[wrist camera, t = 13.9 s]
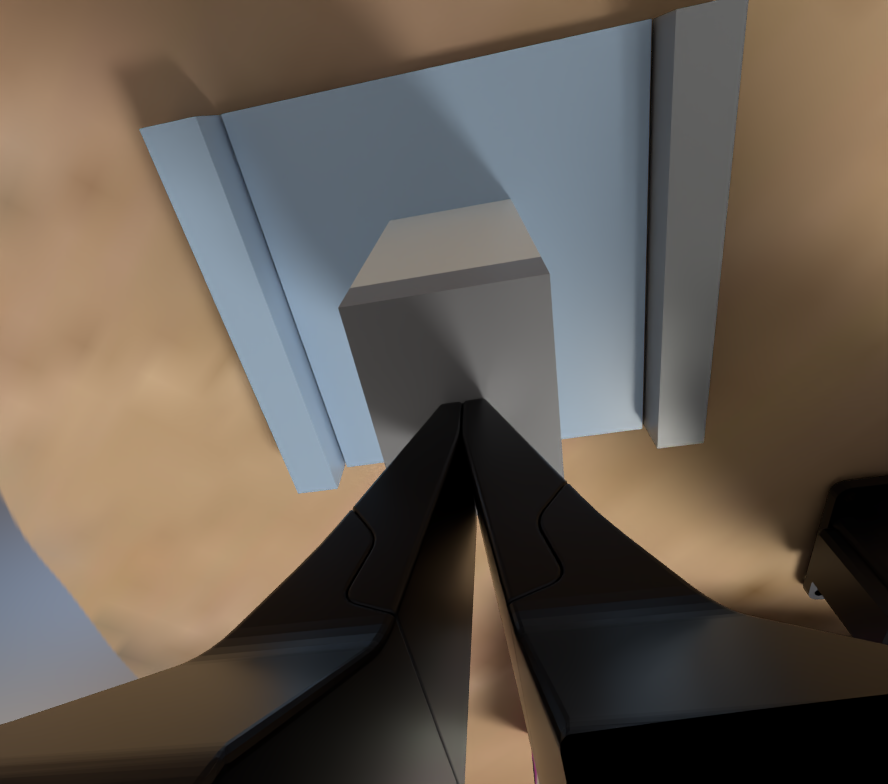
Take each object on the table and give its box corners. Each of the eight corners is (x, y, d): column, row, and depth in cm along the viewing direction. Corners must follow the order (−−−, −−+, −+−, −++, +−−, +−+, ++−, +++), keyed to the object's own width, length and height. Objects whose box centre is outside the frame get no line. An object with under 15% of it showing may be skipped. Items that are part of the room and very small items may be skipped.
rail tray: (1352, -136, 10) (1480, -171, 9) (1086, 365, 16) (1140, 388, 15) (169, 126, 13) (139, 129, 12) (309, 467, 19) (298, 493, 18)
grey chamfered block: (510, 198, 14) (549, 273, 8) (526, 356, 16) (566, 505, 10) (389, 220, 14) (338, 307, 8) (423, 371, 17) (402, 523, 11)
